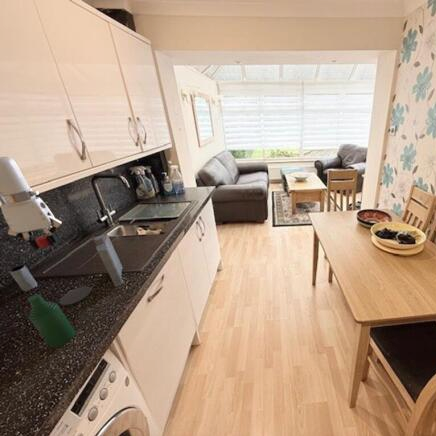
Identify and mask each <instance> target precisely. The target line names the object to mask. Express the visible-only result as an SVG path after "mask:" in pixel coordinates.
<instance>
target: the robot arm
mask: <svg viewBox="0 0 436 436" xmlns="http://www.w3.org/2000/svg"><path fill="white" fill-rule="evenodd" d="M39 194H40V192H39V190H33V189H32V188H31V187H30V185H29V183H28V181H27V180H26V178H25V176H24V175H23V173H22V171H21V169H20V167H19V166H18V164H17V162H16V161H15V159H13V158H12V157H9V156H0V203H1V204H0V209H1V212H2V215H3V218H4V220H5V222H6V224H7V225H8V227H9V228H8V231H7V234H8V235H9V236H14V237H19V238H22V239H23V240H25V241H28V243H29V244H30V246H31V247H32V248H33V249H34V251H37V250H39V249H40V248H39V247H38V246H37V244H36V243H35V240H34V239H35V238H37V237H38V236H36V235H34V233H33V231H36V230H37V231H38V230H42V231H43V232H44V233H45V235H48V236H47V239H48V241H49V242H50V244H51V245H50V246H51V247H55V246H56V245H57V244H58V242H59V239H58V238H57V236H56V233H55V232H56V230H58V228H59V227H60V226H61V225H62V224H63V222H62V221H61V220H59V219H57V218H56V217H55V215H54V214H53V212H52V211H51V209H50V208H49V207H48V205H47V204H46V203H45V202H44V200H43V199H42V198H41V197H39V196H38V195H39ZM52 224H53V225H52Z"/></svg>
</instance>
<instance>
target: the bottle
mask: <svg viewBox="0 0 436 436" xmlns="http://www.w3.org/2000/svg"><path fill="white" fill-rule="evenodd" d="M27 302H28V303H29V304H30V306H31V309H30V312H29V314H28V319H29V321H30V322H31V324H32V325H33V326H34V328H35V329H36V330H37V331H38V333H39V334H40V335H41V337H42V338H43V339H44V341H45V342H46V344H47V345H48V346H49V348H51V349H52V348H53V349H57V348H59V347H60V348H61V347H62V346H64V345H66V344H68V343H69V342H70V341H72V340H73V339H74V337H75V335H76V333H77V332H76V330H75V329H74V327H73V326H72V324H71V323H70V321H69V320H68V318H67V316H66V315H65V314H64V312H63V311H62V309H61V307H60V306H59V304H58V303H56V302H54V301H53V302H52V301H48V300H44V297H42V294H40V293H37V294H34V295H32V296H30V297H28V299H27Z"/></svg>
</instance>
